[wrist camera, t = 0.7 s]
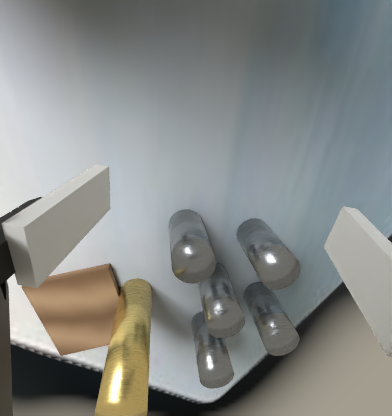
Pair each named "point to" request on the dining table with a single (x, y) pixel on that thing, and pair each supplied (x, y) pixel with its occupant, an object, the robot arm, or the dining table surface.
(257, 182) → the dining table surface
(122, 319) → the cylinder
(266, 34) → the dining table surface
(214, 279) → the spacers
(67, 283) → the board
